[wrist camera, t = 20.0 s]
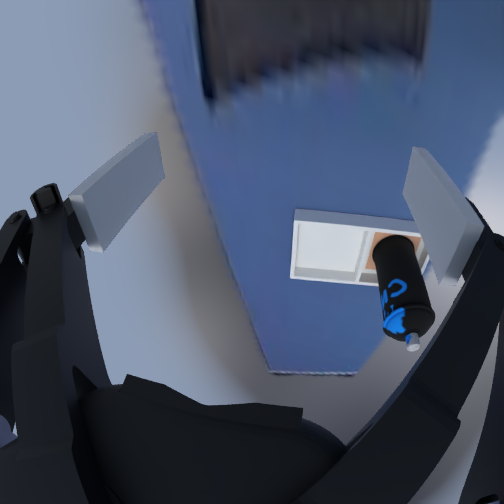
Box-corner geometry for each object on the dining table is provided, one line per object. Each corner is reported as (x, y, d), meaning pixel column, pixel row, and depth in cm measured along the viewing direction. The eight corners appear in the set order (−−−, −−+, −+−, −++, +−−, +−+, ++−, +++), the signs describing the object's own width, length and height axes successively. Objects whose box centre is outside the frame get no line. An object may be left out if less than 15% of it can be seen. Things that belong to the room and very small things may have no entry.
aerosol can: (421, 240, 47) (452, 334, 32) (402, 273, 52) (420, 364, 37) (382, 229, 47) (404, 326, 32) (365, 263, 52) (375, 359, 37)
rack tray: (432, 223, 45) (438, 235, 43) (411, 277, 54) (415, 289, 51) (295, 208, 49) (294, 220, 46) (291, 266, 58) (289, 279, 55)
